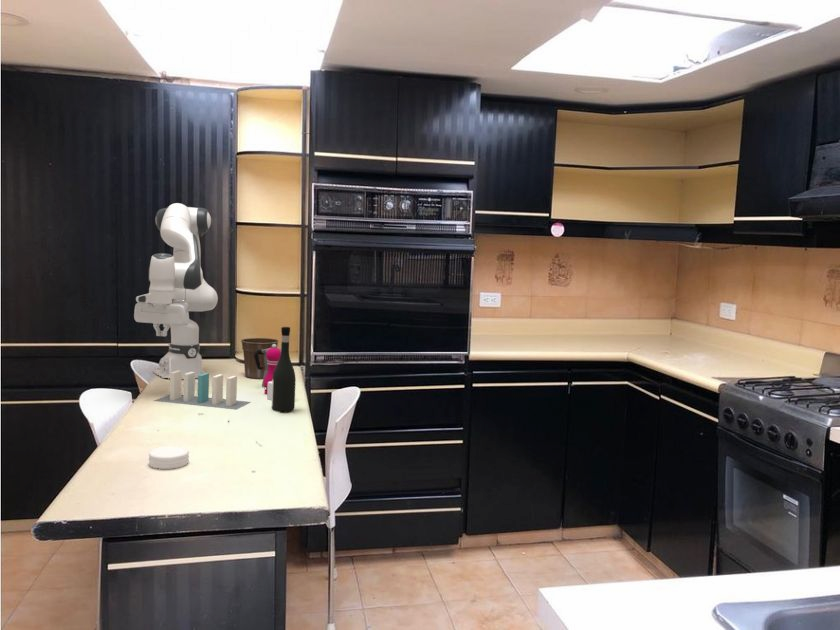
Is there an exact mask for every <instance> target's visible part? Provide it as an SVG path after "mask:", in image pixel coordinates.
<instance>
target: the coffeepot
mask: <svg viewBox="0 0 840 630" xmlns="http://www.w3.org/2000/svg"><path fill="white" fill-rule="evenodd" d="M273 344H276V343H272V345H273ZM277 348H278V347H277ZM268 349H270V348H268ZM268 349H263V350H257V351H256V352H255V353H254V358H255V361H256V364H257V368H258V369H259V370H262V369H263V367H260V362H259V357H258V355H259V354H264V363H265V372H264V377H263V379H262V383H261V386H262V388H265V386H264V384H263V383H264V379H265V377H266V375H267V372H268V364H267V360H268V358H267V357H266V352H267V350H268ZM278 349H280V351H281V348H280V347H279V348H278Z"/></svg>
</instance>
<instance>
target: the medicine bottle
mask: <svg viewBox="0 0 840 630" xmlns="http://www.w3.org/2000/svg"><path fill="white" fill-rule="evenodd" d="M273 374H274V371H273ZM266 399H267V401H271V402H272V381H270V382H268V385H267V396H266Z"/></svg>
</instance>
